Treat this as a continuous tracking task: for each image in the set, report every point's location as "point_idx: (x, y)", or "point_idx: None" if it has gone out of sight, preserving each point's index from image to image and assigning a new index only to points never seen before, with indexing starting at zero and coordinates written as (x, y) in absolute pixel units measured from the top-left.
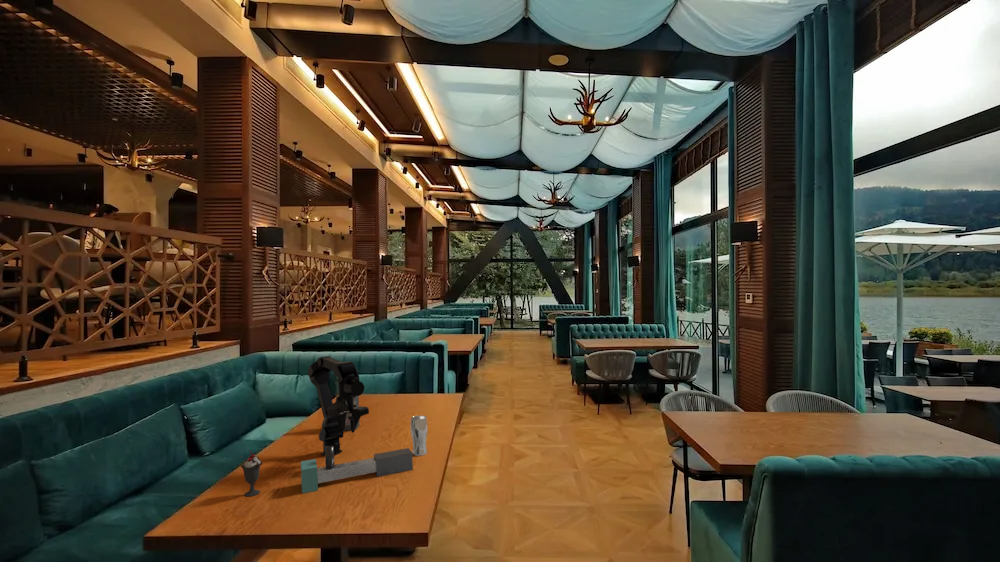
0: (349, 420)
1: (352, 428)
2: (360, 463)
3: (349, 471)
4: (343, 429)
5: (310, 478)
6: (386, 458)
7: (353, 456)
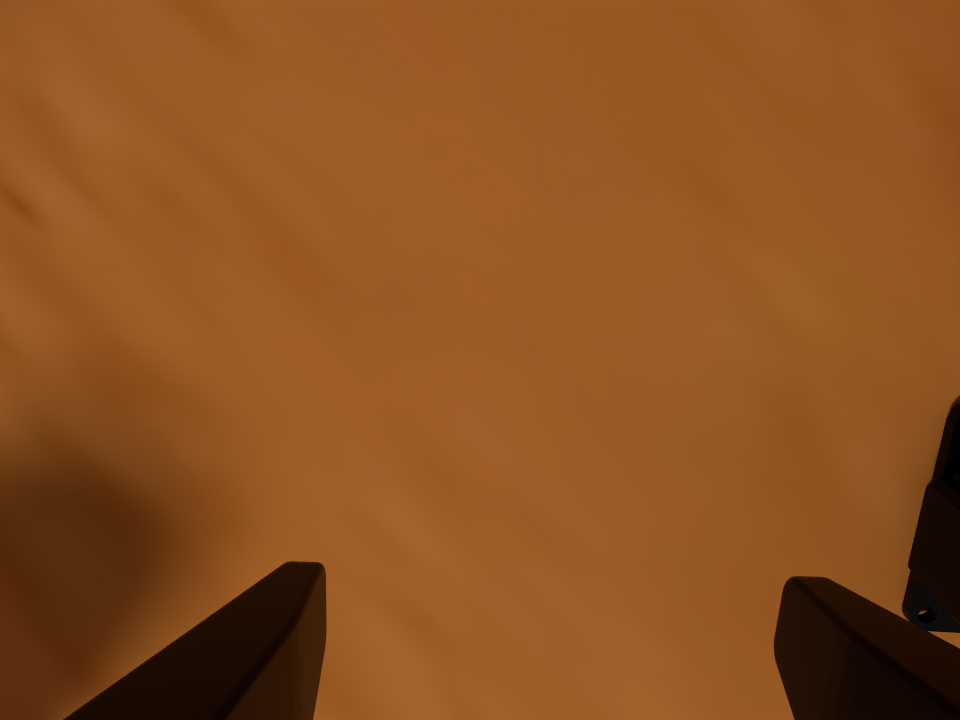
0: None
1: (182, 640)
2: None
3: None
4: (804, 671)
5: None
6: None
7: (599, 519)
